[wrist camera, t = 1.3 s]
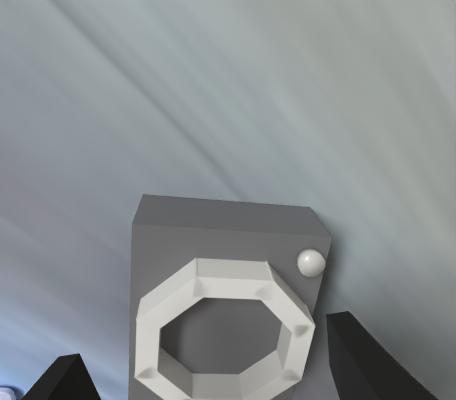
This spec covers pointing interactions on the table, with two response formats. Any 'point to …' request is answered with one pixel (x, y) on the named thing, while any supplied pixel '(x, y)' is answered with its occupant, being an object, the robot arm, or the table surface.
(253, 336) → the grey square base
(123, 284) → the table surface
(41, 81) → the table surface
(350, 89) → the table surface
